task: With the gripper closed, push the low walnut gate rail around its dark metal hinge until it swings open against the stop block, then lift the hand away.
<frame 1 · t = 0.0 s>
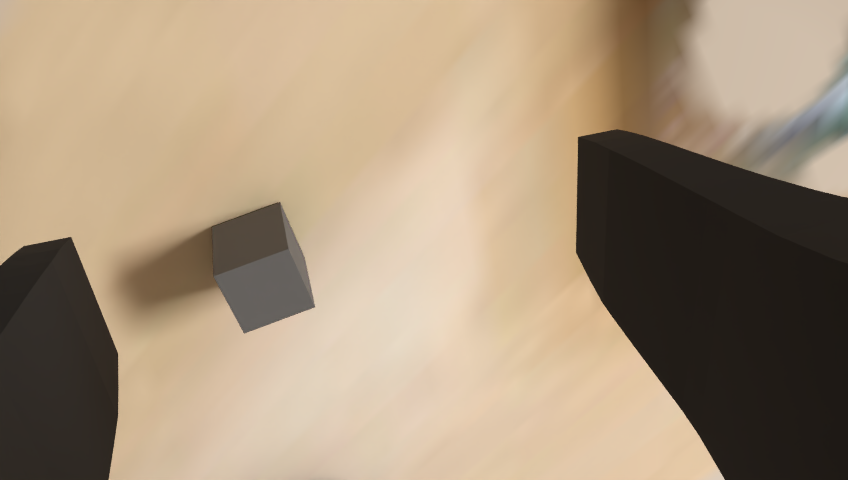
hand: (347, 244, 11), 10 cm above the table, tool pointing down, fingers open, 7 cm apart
stop block: (259, 242, 22), on the table
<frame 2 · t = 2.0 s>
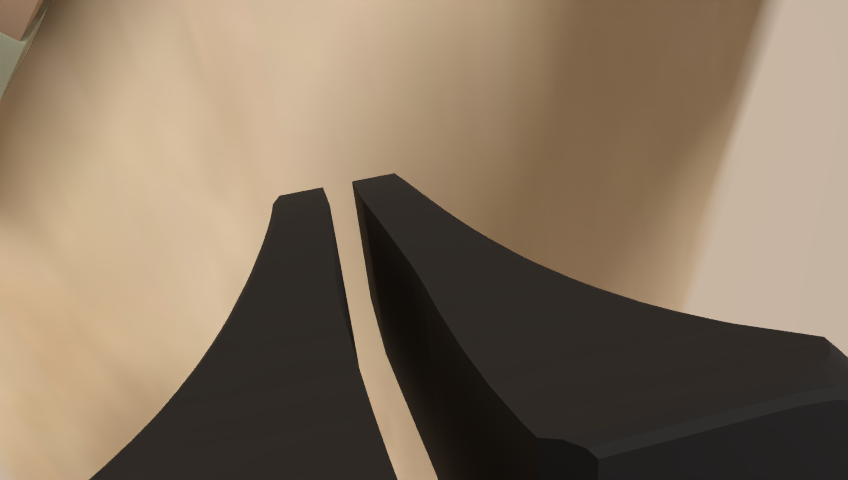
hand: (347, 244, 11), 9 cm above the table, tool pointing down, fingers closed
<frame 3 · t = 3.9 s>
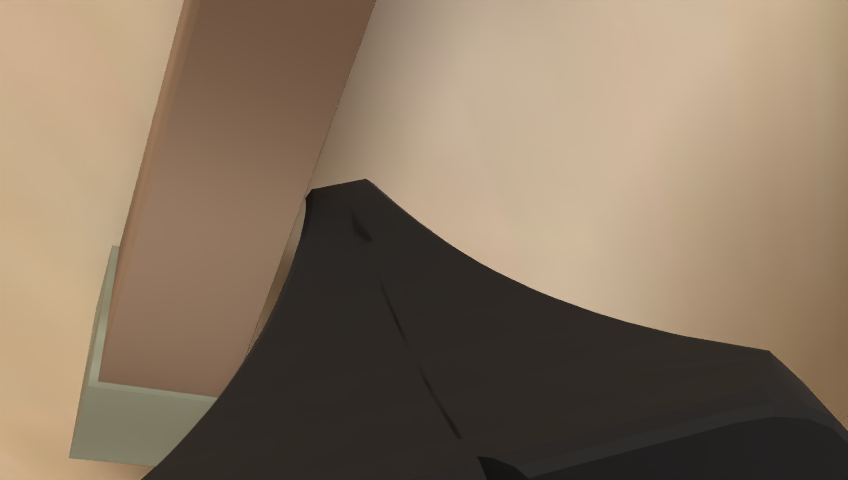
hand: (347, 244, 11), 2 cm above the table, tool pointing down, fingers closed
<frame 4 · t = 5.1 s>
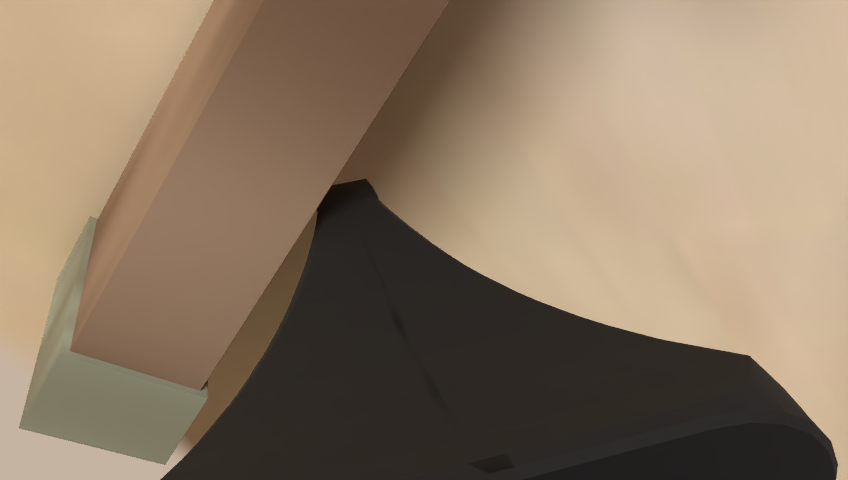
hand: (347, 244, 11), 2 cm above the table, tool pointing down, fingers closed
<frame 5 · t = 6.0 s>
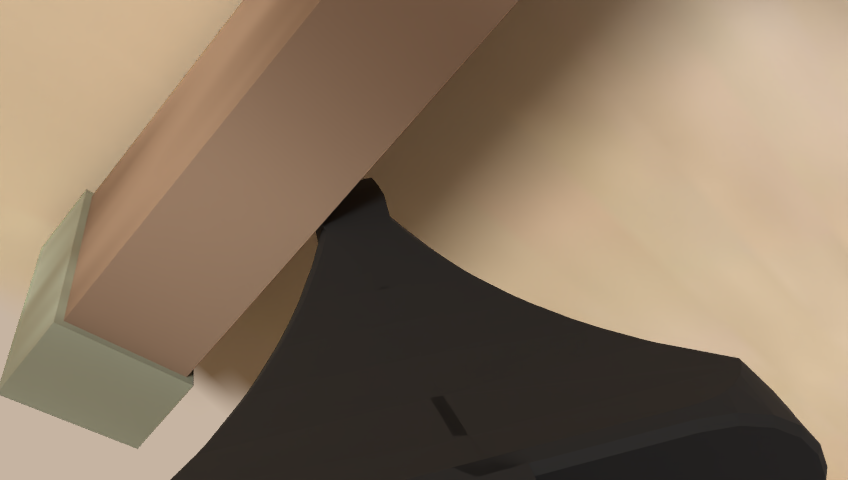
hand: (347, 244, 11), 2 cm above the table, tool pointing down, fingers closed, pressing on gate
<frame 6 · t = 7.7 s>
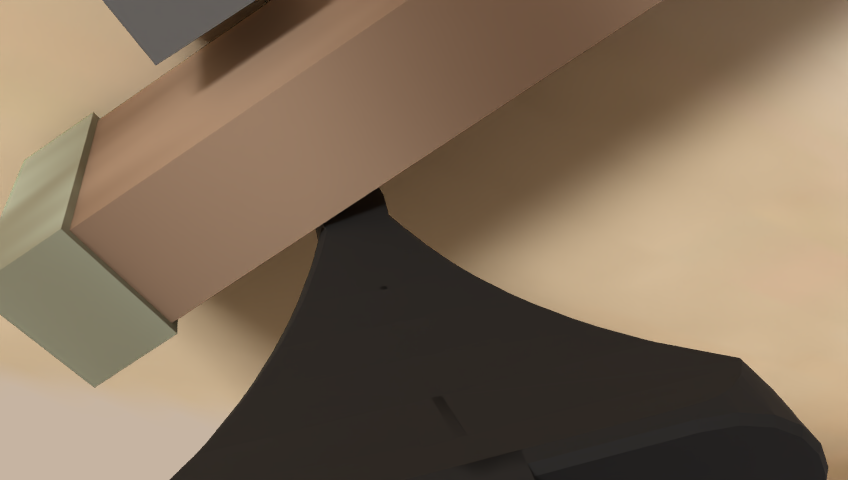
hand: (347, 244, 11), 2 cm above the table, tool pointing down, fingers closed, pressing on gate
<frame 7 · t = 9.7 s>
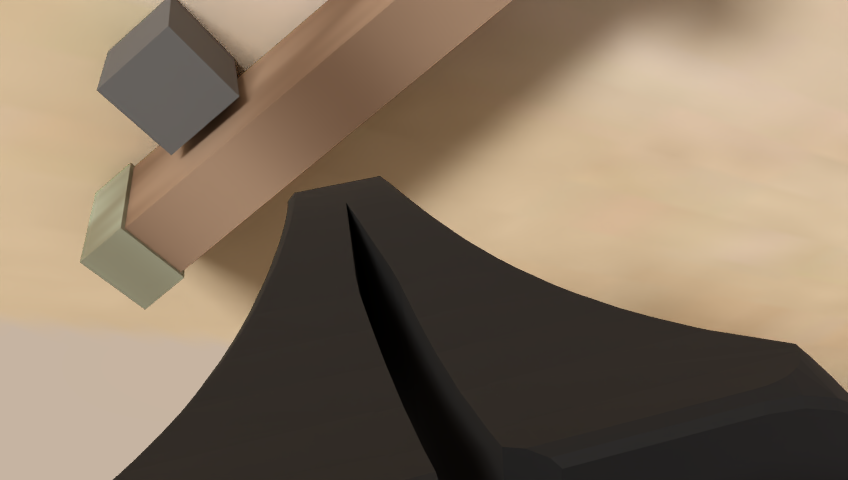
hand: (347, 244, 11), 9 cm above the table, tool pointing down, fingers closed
stop block: (172, 55, 18), on the table
gate: (387, 39, 17), point 3 cm above the table, hinge at 80.4°
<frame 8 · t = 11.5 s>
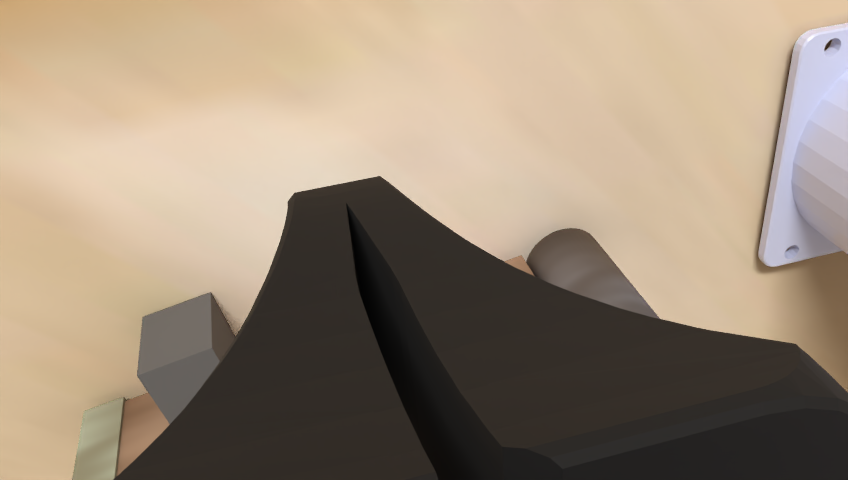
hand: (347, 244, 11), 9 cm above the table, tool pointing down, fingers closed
stop block: (191, 330, 23), on the table
gate: (366, 389, 22), point 3 cm above the table, hinge at 80.4°
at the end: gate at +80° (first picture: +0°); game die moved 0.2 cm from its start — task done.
